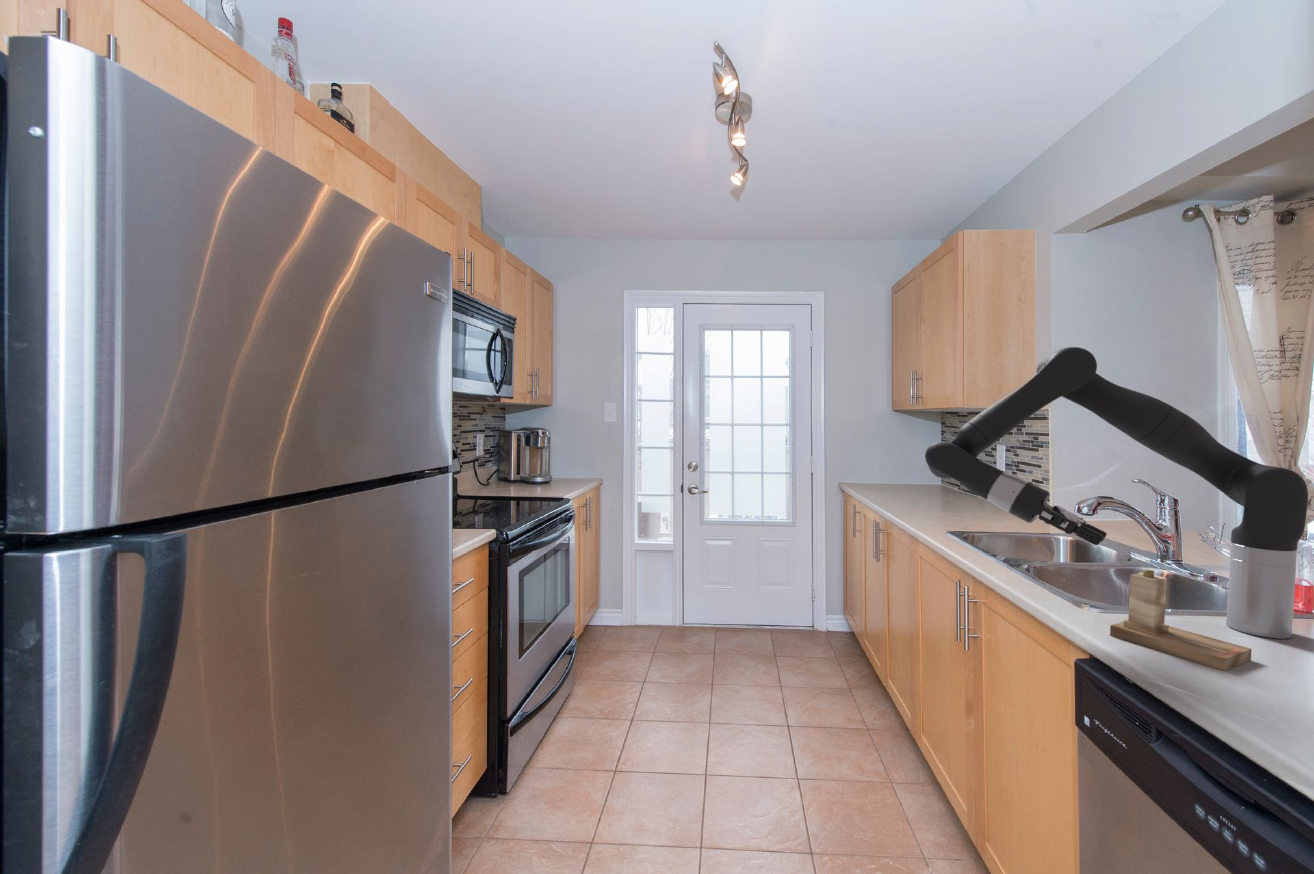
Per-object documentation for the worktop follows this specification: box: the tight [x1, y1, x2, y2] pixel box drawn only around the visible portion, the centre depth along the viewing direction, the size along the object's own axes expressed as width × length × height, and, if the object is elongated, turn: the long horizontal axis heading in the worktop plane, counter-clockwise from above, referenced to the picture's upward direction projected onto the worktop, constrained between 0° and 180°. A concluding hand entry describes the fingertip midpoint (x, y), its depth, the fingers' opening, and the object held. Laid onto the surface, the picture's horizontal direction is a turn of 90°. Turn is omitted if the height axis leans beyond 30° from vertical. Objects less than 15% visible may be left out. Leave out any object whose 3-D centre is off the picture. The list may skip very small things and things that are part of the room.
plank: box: [1109, 621, 1252, 671], centre depth 109 cm, size 10×17×2 cm, turn 26°
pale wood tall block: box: [1123, 568, 1170, 636], centre depth 112 cm, size 5×6×11 cm
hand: (1102, 539), depth 114 cm, fingers open, 8 cm apart
